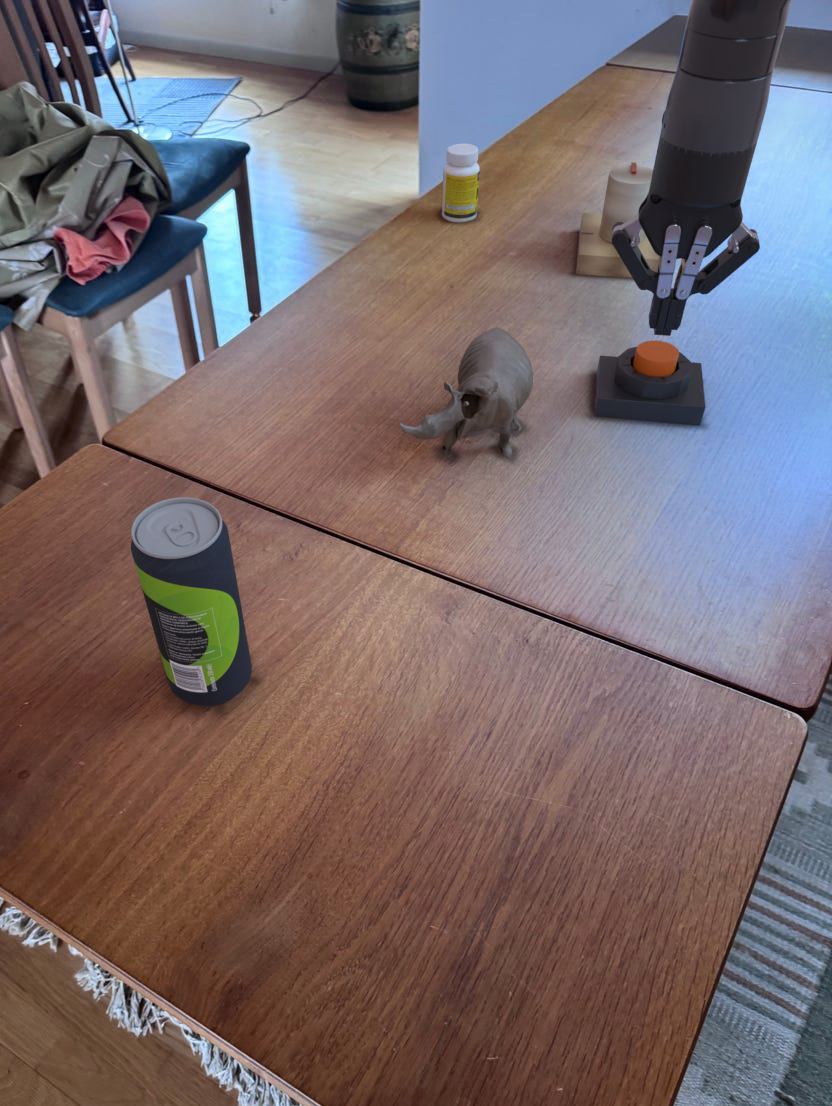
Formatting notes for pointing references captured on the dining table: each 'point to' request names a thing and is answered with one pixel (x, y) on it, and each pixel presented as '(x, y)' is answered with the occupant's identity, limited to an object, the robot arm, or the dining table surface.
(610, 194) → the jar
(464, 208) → the supplement bottle
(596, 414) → the button box
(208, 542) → the beverage can
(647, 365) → the button
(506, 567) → the dining table surface
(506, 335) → the rhinoceros figurine
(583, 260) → the tan square base
